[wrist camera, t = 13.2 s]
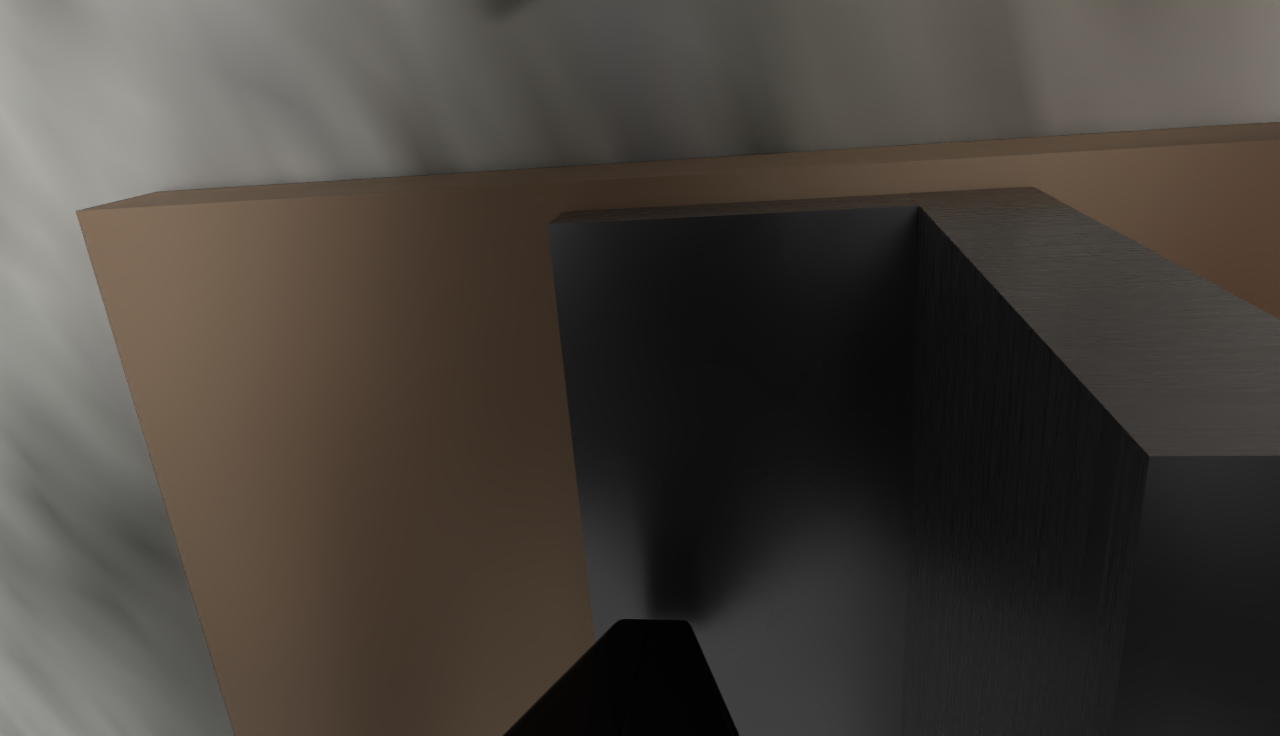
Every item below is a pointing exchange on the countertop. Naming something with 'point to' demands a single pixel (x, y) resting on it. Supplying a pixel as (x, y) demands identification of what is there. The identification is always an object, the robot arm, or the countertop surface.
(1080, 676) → the bookend
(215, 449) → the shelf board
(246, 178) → the countertop surface
